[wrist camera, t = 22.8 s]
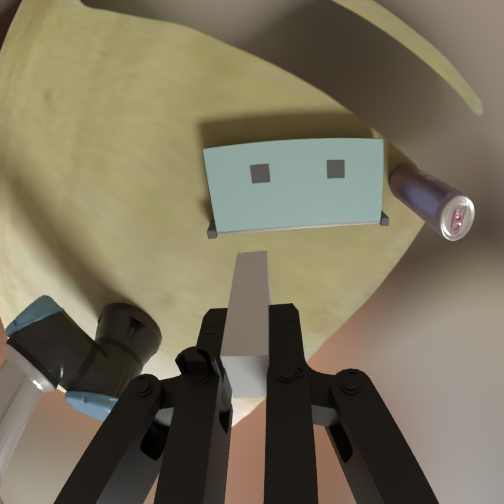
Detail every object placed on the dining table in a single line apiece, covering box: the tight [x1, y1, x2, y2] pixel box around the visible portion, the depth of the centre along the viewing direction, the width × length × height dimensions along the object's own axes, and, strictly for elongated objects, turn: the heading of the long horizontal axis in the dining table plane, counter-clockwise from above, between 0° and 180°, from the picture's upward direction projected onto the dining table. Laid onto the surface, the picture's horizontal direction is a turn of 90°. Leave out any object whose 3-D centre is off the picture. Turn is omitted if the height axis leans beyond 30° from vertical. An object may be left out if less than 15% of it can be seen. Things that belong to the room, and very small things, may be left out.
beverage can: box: [390, 164, 474, 241], centre depth 30 cm, size 6×6×15 cm
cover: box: [203, 138, 383, 235], centre depth 35 cm, size 24×13×1 cm, turn 96°
